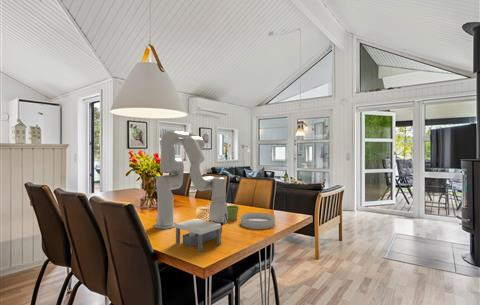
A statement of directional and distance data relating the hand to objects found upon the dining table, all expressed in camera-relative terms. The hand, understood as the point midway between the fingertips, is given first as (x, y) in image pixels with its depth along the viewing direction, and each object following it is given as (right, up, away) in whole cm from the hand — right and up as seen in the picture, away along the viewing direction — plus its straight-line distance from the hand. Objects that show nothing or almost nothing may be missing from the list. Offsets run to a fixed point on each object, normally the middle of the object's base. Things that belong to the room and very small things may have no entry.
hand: (218, 233), depth 145 cm
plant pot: (+6, -2, +38) cm, 39 cm away
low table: (-9, -2, -11) cm, 15 cm away
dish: (+23, -2, +27) cm, 35 cm away
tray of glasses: (-9, -2, -6) cm, 11 cm away
